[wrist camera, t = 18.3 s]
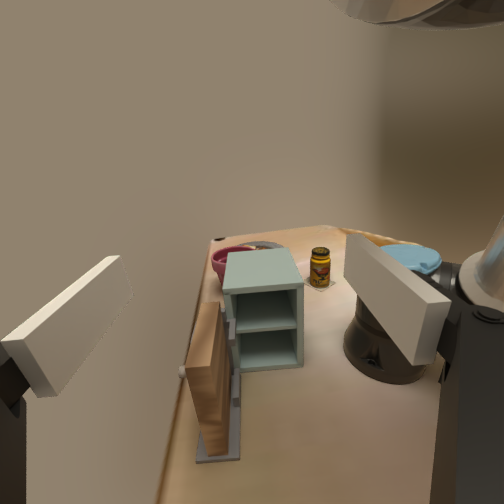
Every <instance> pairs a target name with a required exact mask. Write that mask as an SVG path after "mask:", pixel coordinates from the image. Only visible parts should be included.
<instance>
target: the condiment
mask: <svg viewBox="0 0 504 504" xmlns="http://www.w3.org/2000/svg"><path fill="white" fill-rule="evenodd" d="M329 253H330V251H329V249H327V248H325V247H317V248H314V249H312V257H311V259H310V277H308V278H307V279H304V280H303V282H304V284H306V285H308V286H310V287H312V288H314V289H316V290H318V291H323V290H325V289H327V288H328V287H330V286H331V285H333V284H334V283H335V282H333V281H330V264H331V263H330V261H331V259H330V257H329V256H330V255H329ZM309 282H310V283H309Z"/></svg>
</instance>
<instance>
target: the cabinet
mask: <svg viewBox="0 0 504 504" xmlns="http://www.w3.org/2000/svg"><path fill="white" fill-rule="evenodd" d="M222 290H223V296H224V303H225V308H221V314H222V320H223V326H224V332H225V338H226V345H227V351H228V357H229V363H230V370H231V376H232V385H231V407H230V429H229V450H228V455H223V456H212V457H208V455H207V451H206V447H205V444H204V440H203V436H202V432H201V430H200V436H199V442H198V449H197V455H196V464H197V463H209V462H221V461H233V460H240V407H241V375H240V373H241V372H253V371H265V370H276V369H288V368H300V367H303V356H304V282H303V279H302V277H301V275H300V273H299V271H298V268H297V266H296V264H295V262H294V259H293V257H292V255H291V253H290V251H289V248H288V247H287V248H275V249H264V250H252V251H241V252H229V253H228V257H227V263H226V270H225V276H224V282H223V289H222ZM196 323H197V322H196ZM195 327H196V324H195ZM195 327H194V331H195ZM194 331H193V334H194ZM192 338H193V335H192ZM192 338H191V342H192ZM191 342H190V344H191Z"/></svg>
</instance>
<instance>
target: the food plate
mask: <svg viewBox="0 0 504 504" xmlns="http://www.w3.org/2000/svg"><path fill="white" fill-rule="evenodd" d="M237 246H247V247H251V248H254V249H255V250H256V248H259V250H264V249H275V248H284V247H283V246H282V245H279V244H277V243H273V242H265V241H254V242H247V243H243V244H240V245H237Z"/></svg>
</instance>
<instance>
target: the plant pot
mask: <svg viewBox="0 0 504 504" xmlns="http://www.w3.org/2000/svg"><path fill="white" fill-rule="evenodd" d="M252 250H255V249H254V248H251V247H247V246H232V247H227V248H223V249H220V250H218V251H216V252H215V253H213V255H212V256H211V261H212V267H213V270H214V271H215V272H217V274H218V277H219V280H220V282H221V284H222V287H223V282H224V276H225V270H226V263H227V257H228V253H229V252H241V251H252Z"/></svg>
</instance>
